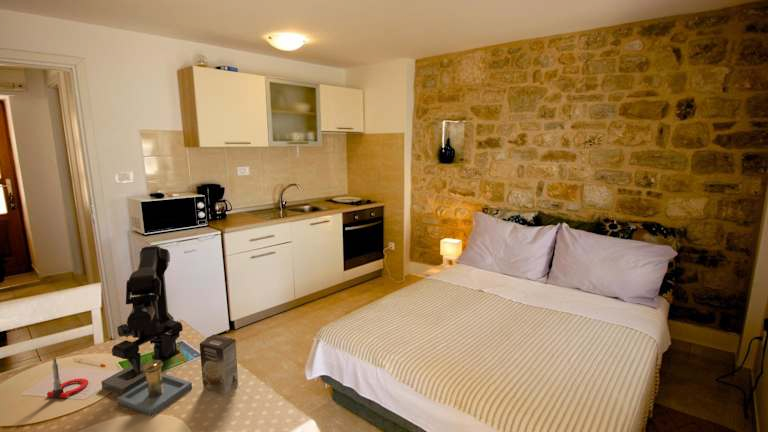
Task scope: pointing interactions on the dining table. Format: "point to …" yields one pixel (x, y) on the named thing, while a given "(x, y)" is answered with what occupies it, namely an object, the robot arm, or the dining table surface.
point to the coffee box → (219, 364)
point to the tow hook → (58, 386)
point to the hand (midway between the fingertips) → (152, 364)
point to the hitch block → (124, 380)
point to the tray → (150, 406)
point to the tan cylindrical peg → (154, 378)
